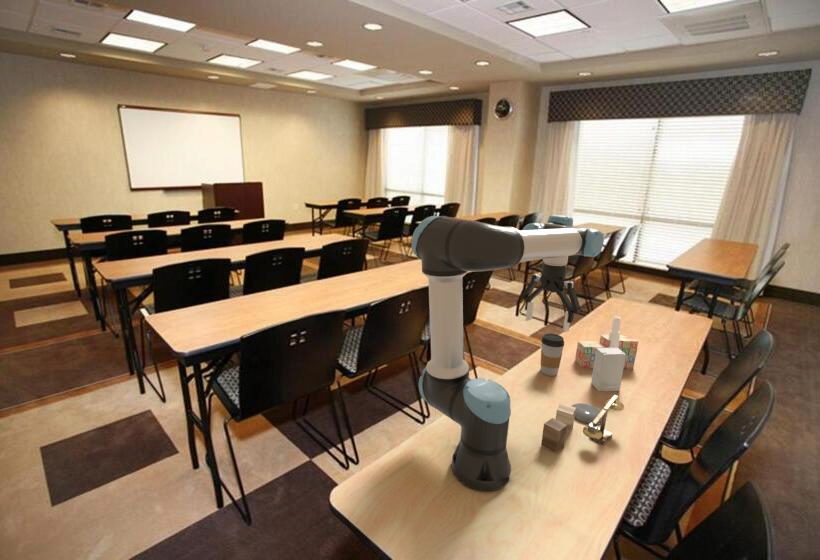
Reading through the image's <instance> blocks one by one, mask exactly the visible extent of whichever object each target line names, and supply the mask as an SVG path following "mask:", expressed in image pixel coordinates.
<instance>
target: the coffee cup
mask: <svg viewBox="0 0 820 560" xmlns="http://www.w3.org/2000/svg"><path fill="white" fill-rule="evenodd" d="M540 342H541V350H540V372H541V373H542V374H543V375H546V376H551V377H552V376H553V377H554V376H557V375H558V373H559V368H560V365H561V360H562V356H563V349H564V346H565V341H564V337H563V336H561V335H559V334H555V333H545V334H543V336H542V338H541V341H540Z"/></svg>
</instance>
